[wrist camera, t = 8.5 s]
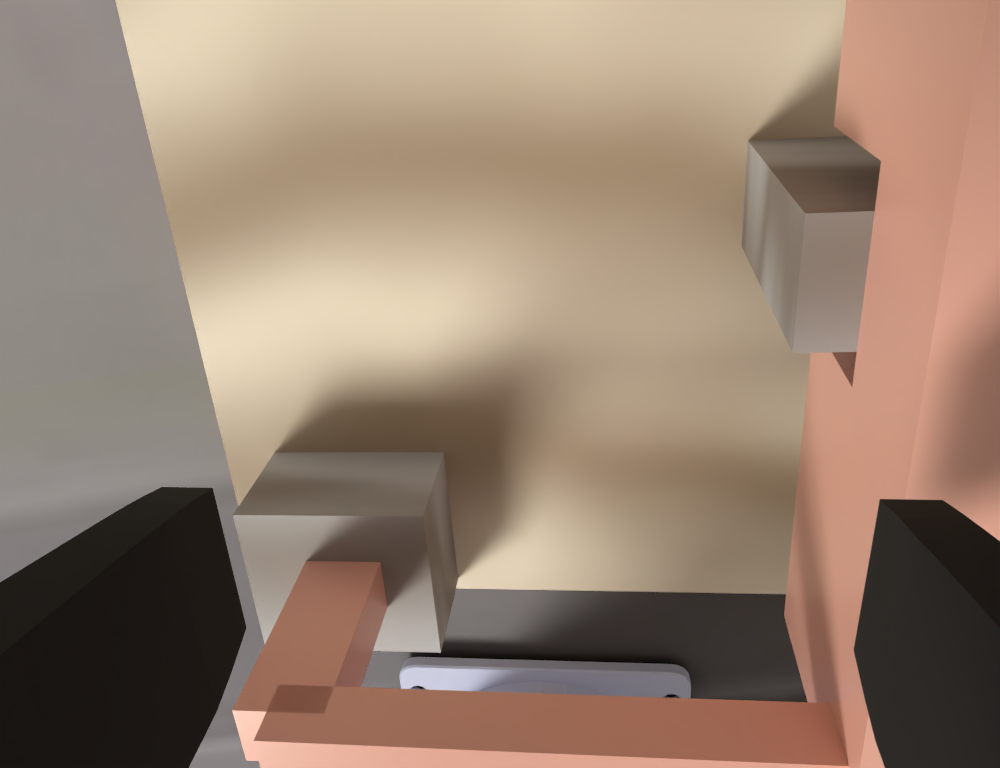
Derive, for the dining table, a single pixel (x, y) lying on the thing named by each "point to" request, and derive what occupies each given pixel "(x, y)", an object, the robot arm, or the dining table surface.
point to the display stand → (509, 281)
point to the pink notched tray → (821, 479)
